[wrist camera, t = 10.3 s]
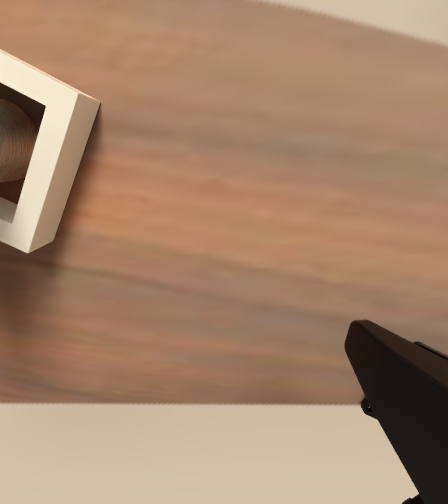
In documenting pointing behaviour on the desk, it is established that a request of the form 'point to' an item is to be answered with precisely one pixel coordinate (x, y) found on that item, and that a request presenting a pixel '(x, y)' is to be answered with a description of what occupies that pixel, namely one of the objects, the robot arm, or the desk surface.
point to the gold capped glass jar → (15, 141)
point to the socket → (45, 154)
